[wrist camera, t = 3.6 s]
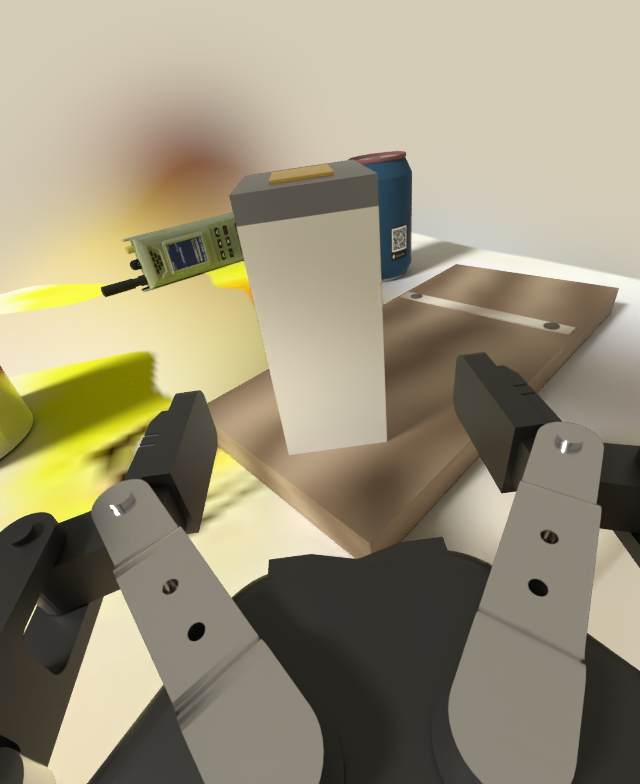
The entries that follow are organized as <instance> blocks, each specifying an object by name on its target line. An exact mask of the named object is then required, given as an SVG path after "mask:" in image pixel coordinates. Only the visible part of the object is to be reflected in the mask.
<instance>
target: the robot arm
mask: <svg viewBox="0 0 640 784" xmlns="http://www.w3.org/2000/svg"><path fill="white" fill-rule="evenodd" d="M453 403H454V408H455V412H456V414H457V416H458V418H459V420H460V422H461V423H462V425H463V427H464V429H465V430H466V432H467V434H468V436H469V437H470V439H471V441H472V443H473V444H474V446H475V448H476V450H477V451H478V453H479V455H480V457H481V458H482V460H483V462H484V464H485V465H486V467H487V469H488V471H489V472H490V474H491V476H492V478H493V479H494V481H495V483H496V485H497V486H498V488H499V490H500V492H501V493H507V492H515V491H517V492H516V495H515V498H514V501H513V504H512V507H511V510H510V513H509V517H508V520H507V523H506V526H505V529H504V532H503V535H502V538H501V541H500V544H499V547H498V550H497V553H496V556H495V560H494V563H493V566H492V565H491V564H489V563H487V562H485V561H483V560H481V559H478V558H476V557H473V556H470V555H467V554H464V553H459V552H455V551H448V550H447V548H446V545H445V542H444V539H443V537H438V538H430V539H422V540H415V541H407V542H400V543H397V544H395V545H392V546H389V547H387V548H384V549H382V550H379V551H377V552H374V553H372V554H369V555H367V556H364V557H361V558H357V559H351V558H342V557H333V556H324V555H315V554H308V555H301V556H293V557H286V558H278V559H271V560H269V568H268V574H267V575H264V576H262V577H260V578H258V579H256V580H254V581H253V582H251V583H250V584H248V585H247V586H245V587H244V588H242V589H241V590H240V591H239V592H238V593H236V594H235V595H234V596H233V597H232V598H231V597H230V595H229V594H228V592H227V591H226V590H225V588H224V587H223V585H222V584H221V583H220V581H219V580H218V578H217V577H216V575H215V574H214V573H213V571H212V570H211V568H210V567H209V566H208V564H207V563H206V561H205V560H204V558H203V557H202V556H201V554H200V553H199V551H198V550H197V549H196V547H195V546H194V544H193V543H192V541H191V540H190V539H189V537H188V536H187V534H190V533H198V532H199V529H200V524H201V520H202V515H203V511H204V506H205V501H206V497H207V492H208V488H209V483H210V478H211V474H212V469H213V465H214V460H215V455H216V451H217V445H218V438H217V431H216V427H215V425H214V422H213V419H212V416H211V413H210V410H209V408H208V405H207V402H206V399H205V397H204V394H203V393H202V392H201V391H200V390H199V391H192V392H184V393H178V394H175V396H174V398H173V401H172V403H171V406H170V408H169V410H168V411H162V412H160V413H159V414H158V415H157V416H156V417H155V418H154V419H153V420H152V421H151V422H150V424H149V426H148V428H147V430H146V433H145V437H143V439H142V441H141V444H140V447H139V448H138V450H137V452H136V454H135V457H134V459H133V461H132V463H131V465H130V468H129V470H128V472H127V474H126V476H125V478H124V481H122V482H120V483H117V484H115V485H113V486H112V487H110V488H108V489H107V490H106V491H105V492H103V493H102V494H101V495H100V496H99V497H98V499H97V500H96V501H95V503H94V505H93V507H92V511H89V512H87V513H84V514H82V515H79V516H76V517H74V518H71V519H69V520H66V521H63V522H61V523H58V522H57V521H56V519H55V518H54V517H53V516H52V515H51V514H49V513H45V512H39V513H33V514H30V515H27V516H24V517H22V518H20V519H18V520H16V521H15V522H13V523H12V524H10V525H9V526H7V527H6V528H5V529H3V530H2V531H1V532H0V784H56V780H55V777H54V775H53V773H52V771H51V770H50V769H49V768H47V767H48V764H49V761H50V758H51V755H52V752H53V749H54V745H55V742H56V739H57V736H58V733H59V730H60V727H61V724H62V721H63V718H64V715H65V712H66V709H67V706H68V703H69V700H70V697H71V694H72V691H73V688H74V685H75V682H76V679H77V676H78V673H79V670H80V667H81V664H82V661H83V658H84V655H85V652H86V649H87V646H88V643H89V639H90V636H91V633H92V630H93V627H94V624H95V621H96V618H97V615H98V612H99V609H100V606H101V603H102V600H103V597H104V596H106V595H108V594H110V593H112V592H115V591H117V590H119V589H121V591H122V594H123V596H124V598H125V600H126V602H127V605H128V607H129V609H130V611H131V613H132V616H133V618H134V620H135V622H136V624H137V627H138V629H139V631H140V633H141V635H142V638H143V640H144V642H145V644H146V646H147V649H148V651H149V653H150V655H151V657H152V660H153V662H154V664H155V666H156V668H157V671H158V673H159V675H160V677H161V679H162V682H163V684H164V685H163V686H162V687H161V689H160V690H159V691H158V692H157V694H156V695H155V696H154V698H153V699H152V700H151V701H150V703H149V704H148V705H147V707H146V708H145V709H144V711H143V712H142V713H141V714H140V716H139V717H138V718H137V720H136V721H135V722H134V724H133V725H132V726H131V727H130V729H129V730H128V731H127V733H126V734H125V735H124V737H123V738H122V739H121V740H120V742H119V743H118V744H117V746H116V747H115V748H114V750H113V751H112V752H111V753H110V755H109V756H108V757H107V759H106V760H105V761H104V762H103V764H102V765H101V766H100V768H99V769H98V770H97V772H96V773H95V774H94V775H93V777H92V778H91V779H90V781H89V782H88V783H87V784H640V671H639V670H638V669H636V668H635V667H633V666H632V665H631V664H629V663H628V662H627V661H625V660H624V659H622V658H621V657H620V656H618V655H617V654H615V653H614V652H613V651H611V650H610V649H609V648H607V647H606V646H604V645H603V644H602V643H600V642H599V641H597V640H596V639H594V638H593V637H592V636H591V635H589V634H588V633H587V627H588V619H589V611H590V602H591V594H592V586H593V578H594V569H595V561H596V553H597V545H598V536H599V528H602V529H609V530H613V531H614V533H615V534H616V535H617V537H618V538H619V540H620V541H621V542H622V544H623V545H624V547H625V548H626V549H627V551H628V552H629V554H630V555H631V556H632V558H633V559H634V561H635V562H636V563H637V565H638V566H639V568H640V446H632V445H621V444H609V443H603V442H602V441H601V439H600V438H599V437H598V436H597V435H596V434H595V433H594V432H592V431H590V430H589V429H587V428H585V427H582V426H580V425H577V424H573V423H568V422H562V421H561V420H560V418H559V417H558V416H557V415H556V414H555V413H554V412H553V411H552V410H551V409H550V407H549V406H548V405H547V404H546V403H545V402H544V401H543V400H542V399H541V398H540V396H539V395H538V394H535V391H534V390H533V389H532V388H531V387H530V385H529V386H528V383H527V382H526V381H525V380H524V379H523V378H522V377H521V376H520V374H519V373H517V372H515V371H513V370H512V369H510V368H508V367H506V366H504V365H500V366H496V364H495V363H494V362H493V361H492V360H491V359H490V357H489V356H488V355H487V354H486V353H485V352H478V353H471V354H464V355H459V356H458V357H457V360H456V368H455V380H454V391H453ZM32 424H33V414H32V413H31V411H30V410H29V408H28V407H27V405H26V404H25V402H24V401H23V399H22V398H21V396H20V395H19V393H18V392H17V390H16V389H15V387H14V386H13V384H12V383H11V381H10V380H9V378H8V377H7V375H6V374H5V372H4V371H3V369H2V368H1V366H0V459H1V458H2V457H3V456H5V455H6V454H7V453H8V452H10V451H11V450H12V449H14V448H15V447H16V446H17V445H18V444H19V443H20V442H21V441H22V440H23V439H24V437H25V436H26V435H27V433H28V432H29V431H30V429H31V427H32ZM36 604H37V607H36V609H35V612H34V614H33V616H32V618H31V620H30V622H29V625H28V627H27V629H26V631H25V633H24V630H25V627H26V625H27V622H28V620H29V618H30V616H31V614H32V612H33V610H34V607H35V605H36ZM23 634H24V635H23Z"/></svg>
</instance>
